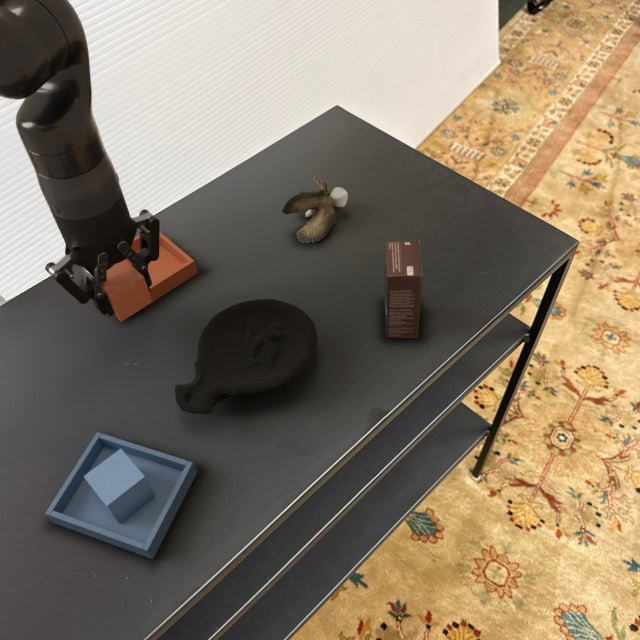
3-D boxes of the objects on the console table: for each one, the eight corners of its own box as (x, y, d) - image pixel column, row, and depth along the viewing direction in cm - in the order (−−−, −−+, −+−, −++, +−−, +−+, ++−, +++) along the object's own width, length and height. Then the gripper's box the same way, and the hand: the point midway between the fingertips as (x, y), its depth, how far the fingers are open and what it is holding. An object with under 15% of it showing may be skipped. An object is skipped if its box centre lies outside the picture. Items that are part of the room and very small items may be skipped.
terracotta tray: (124, 319, 87) (119, 307, 85) (86, 280, 92) (80, 268, 90) (197, 273, 92) (194, 260, 90) (157, 238, 97) (153, 226, 95)
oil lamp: (147, 387, 80) (137, 364, 76) (263, 299, 88) (259, 274, 84) (225, 462, 73) (218, 440, 69) (343, 358, 81) (342, 334, 78)
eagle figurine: (301, 191, 101) (270, 217, 95) (325, 162, 96) (294, 188, 89) (335, 225, 101) (307, 253, 95) (361, 199, 96) (333, 227, 90)
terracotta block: (121, 322, 79) (110, 297, 75) (101, 301, 81) (90, 276, 77) (152, 301, 81) (144, 276, 77) (132, 282, 83) (123, 257, 79)
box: (382, 304, 87) (385, 239, 78) (415, 304, 87) (422, 238, 77) (383, 339, 83) (386, 275, 74) (418, 340, 83) (426, 275, 73)
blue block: (119, 524, 68) (106, 506, 65) (96, 495, 70) (83, 476, 67) (155, 495, 70) (145, 476, 67) (132, 467, 72) (120, 448, 69)
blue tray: (53, 523, 69) (44, 513, 67) (103, 442, 75) (96, 431, 73) (153, 559, 66) (147, 550, 64) (197, 472, 72) (193, 462, 70)
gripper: (122, 148, 72) (157, 256, 85) (3, 208, 66) (60, 315, 79) (161, 177, 68) (190, 286, 82) (38, 244, 62) (91, 350, 76)
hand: (126, 300), depth 80 cm, fingers closed on terracotta block, 4 cm apart
